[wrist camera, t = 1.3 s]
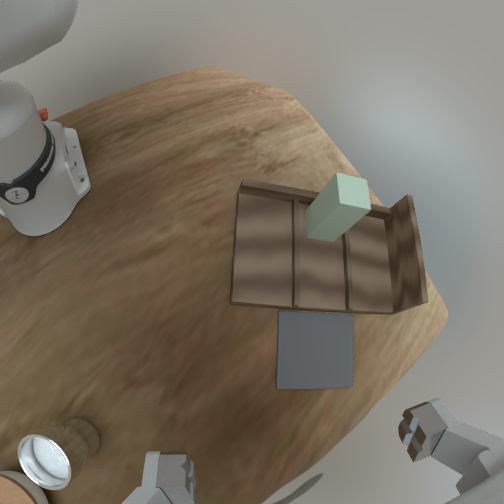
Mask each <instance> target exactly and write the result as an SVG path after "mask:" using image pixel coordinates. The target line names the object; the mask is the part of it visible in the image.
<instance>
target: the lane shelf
mask: <svg viewBox="0 0 504 504" xmlns="http://www.w3.org/2000/svg"><path fill="white" fill-rule="evenodd" d="M319 194H320V193H318V192H313V191H307V190H302V189H297V188H291V187H286V186H280V185H275V184H269V183H263V182H257V181H251V180H245V179H243V180H242V182H241V185H240V188H239V190H238V193H237V205H236V219H235V233H234V247H233V262H232V277H231V293H230V304H234V305H245V306H256V307H268V308H281V309H294V310H309V311H326V312H344V313H366V314H394V313H398V312H401V311H404V310H407V309H410V308H413V307H415V306H418V305H421V304H424V303H427V302H428V295H427V286H426V277H425V269H424V262H423V254H422V248H421V241H420V235H419V230H418V224H417V218H416V213H415V208H414V204H413V199H412V196H411V195H406V196H404V197H403V198H402V199H401V200H400V201H399V202H397V203H396V204H395V205H394V206H393V207H391V208H387V207H382V206H378V205H374V204H370V205H371V210H370V211H369V212H368V213H367V214H366V215H365V216H363V217H362V218H361V219H360V220H359V221H358V222H356V223H355V224H354V225H353V226H352V227H351V228H349V229H348V230H347V231H346V232H345V233H344V234H342V235H341V236H340V237H339V238H338V239H336V240H335V241H334V242H331V241H324V240H317V239H311V238H306V210H307V208H308V207H309V206H310V205H311V204H312V202H313V201H314V200H315V199H316V197H317V196H318V195H319Z"/></svg>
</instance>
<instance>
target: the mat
mask: <svg viewBox="0 0 504 504" xmlns="http://www.w3.org/2000/svg"><path fill="white" fill-rule="evenodd" d="M353 363H354V342H353V315H337V314H318V313H302V312H287V311H278V343H277V373H276V389H322V388H342V387H353Z"/></svg>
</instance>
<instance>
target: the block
mask: <svg viewBox="0 0 504 504" xmlns="http://www.w3.org/2000/svg"><path fill="white" fill-rule="evenodd" d="M370 210H371V205H370V199H369V192H368V186H367V180H365V179H361V178H357V177H353V176H349V175H345V174H341V173H337V172H336V174H335V175H334V176H333V177H332V179H331V180H330V181H329V182H328V184H327V185H326V186H325V187H324V189H323V190H322V191H321V192H320V194H319V195H318V196H317V197H316V199H315V200H314V201H313V202H312V204H311V205H310V206H309V207H308V208H307V210H306V238H311V239H317V240H324V241H331V242H334V241H335V240H336V239H338V238H339V237H340V236H341V235H342V234H344V233H345V232H346V231H347V230H348V229H349V228H351V227H352V226H353V225H354V224H355V223H356V222H358V221H359V220H360V219H361V218H362V217H363V216H365V215H366V214H367V213H368V212H369V211H370Z"/></svg>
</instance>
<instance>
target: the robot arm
mask: <svg viewBox="0 0 504 504" xmlns="http://www.w3.org/2000/svg"><path fill="white" fill-rule="evenodd" d="M77 4H78V0H0V73H1V72H3V71H5V70H7V69H10V68H12V67H14V66H16V65H19V64H21V63H24V62H25V61H27V60H29V59H30V58H32V57H34V56H35V55H37V54H39V53H41V52H43V51H44V50H46V49H48V48H49V47H51V46H53V45H55V44H57V43H58V42H60V41H61V40H62V39H63V38H64V36H65V35H66V33H67V32H68V30H69V29H70V27H71V25H72V22H73V20H74V17H75V14H76V10H77ZM47 119H48V112H47V109H46V108H44V109H42V110H39V111H38V109H37V106H36V104H35V101H34V98H33V96H32V94H31V93H30V92H29V90H28V89H27V88H25V87H24V86H23V85H21V84H19V83H17V82H13V81H2V80H0V215H1V216H3V217H5V218H7V219H9V220H10V222H11V223H12V225H13V226H14V227H15V229H16V230H18V231H19V232H20V233H22V234H24V235H28V236H40V235H44V234H47V233H49V232H51V231H53V230H55V229H56V228H58V227H59V226H60V225H62V224H63V223H64V222H65V221H66V220H67V218H68V217H69V216H70V214H71V213H72V211H73V210H74V208H75V206H76V204H77V203H78V201H79V200H80V199H81V198H82V197H83V196H85V195H86V194H87V193H88V192H89V190H90V189H91V183H90V179H89V176H88V172H87V169H86V165H85V161H84V158H83V154H82V150H81V146H80V142H79V138H78V134H77V132H76V130H75V129H72V128H63V126H62V124H61V123H59V122H55V121H48V122H42V121H46V120H47ZM82 180H84V181H83V182H81V181H82ZM403 417H404V419H403V420H402V421H401V422H400V424H399V428H398V429H399V436H400V439H401V441H402V443H404V444H406V445H408V449H407V452H408V453H409V455H410V457H411V459H412V461H413V462H416V461H418V460H421V459H423V458H426V457H428V456H431V457H433V458H435V459H436V460H438V461H440V462H441V463H443V464H445V465H446V466H448V467H450V468H451V469H453V470H455V471H457V472H458V473H460V474H462V475H463V476H462V477H461V479H460V480H459V481H458V482H457V484H456V487H457V489H458V491H459V493H460V496H458V497H456V498H454V499H452V500H451V501H449V502H447V503H445V504H504V439H503V438H501V437H498V436H495V435H493V434H490V433H488V432H485V431H482V430H480V429H477V428H475V427H472V426H470V425H467V424H465V423H462V422H460V423H458V422H457V421H456V420H455V418H454V417H453V415H452V414H451V413H450V411H449V410H448V409H447V407H446V406H445V405H444V404H443V402H442V401H441V400H440V399H439V398H435V399H433V400H430V401H428V402H424V403H422V404H419V405H417V406H414V407H411V408H409V409H406V410H405V411H404V413H403ZM196 484H197V473H196V468H195V464H194V462H193V461H191V455H190V453H189V451H147V453H146V456H145V463H144V470H143V478H142V486H141V487H137V488H136V489H135V490H134V491H133V492H132V493H131V494H130V495H129V496H128V497H127V498H126V499H125V500H124V501H123V502H122V503H121V504H197V492H196V490H195V488H194V486H195V485H196Z"/></svg>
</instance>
